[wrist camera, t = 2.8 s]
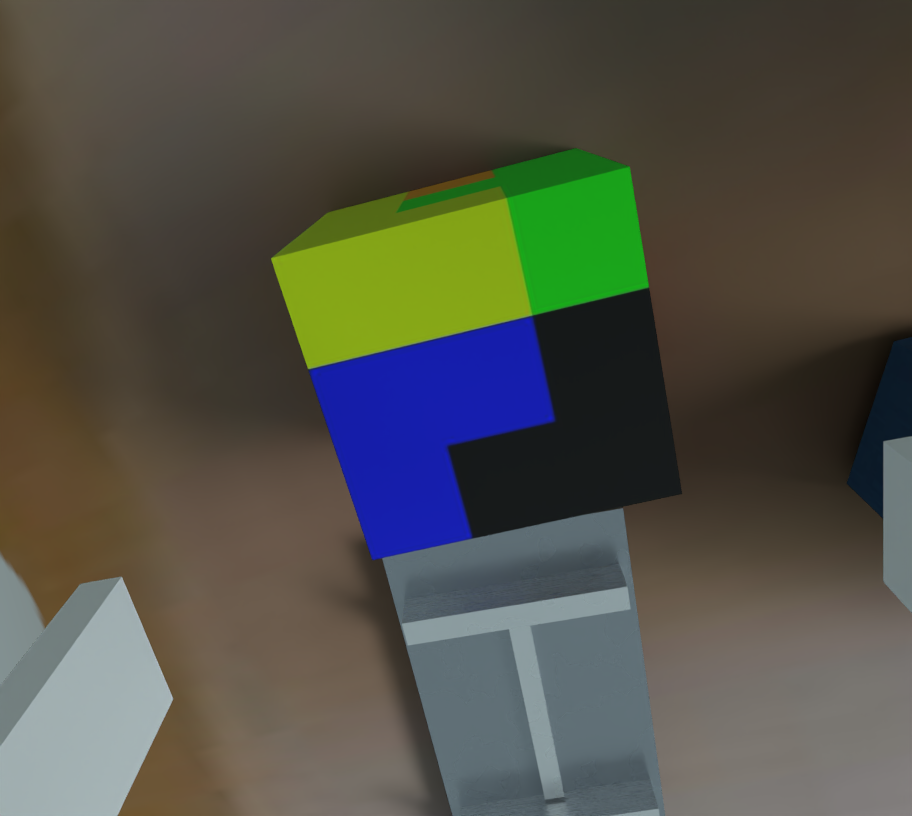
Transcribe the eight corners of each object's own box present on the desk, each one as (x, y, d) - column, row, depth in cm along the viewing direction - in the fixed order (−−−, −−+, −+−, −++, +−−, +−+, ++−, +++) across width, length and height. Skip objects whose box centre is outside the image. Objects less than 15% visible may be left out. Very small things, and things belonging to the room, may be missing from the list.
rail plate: (382, 536, 36) (375, 572, 33) (617, 495, 35) (631, 529, 32) (464, 842, 43) (465, 893, 40) (662, 813, 42) (676, 864, 39)
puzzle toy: (396, 436, 34) (372, 560, 25) (328, 212, 30) (270, 258, 21) (619, 385, 33) (681, 493, 24) (576, 148, 30) (629, 166, 20)
